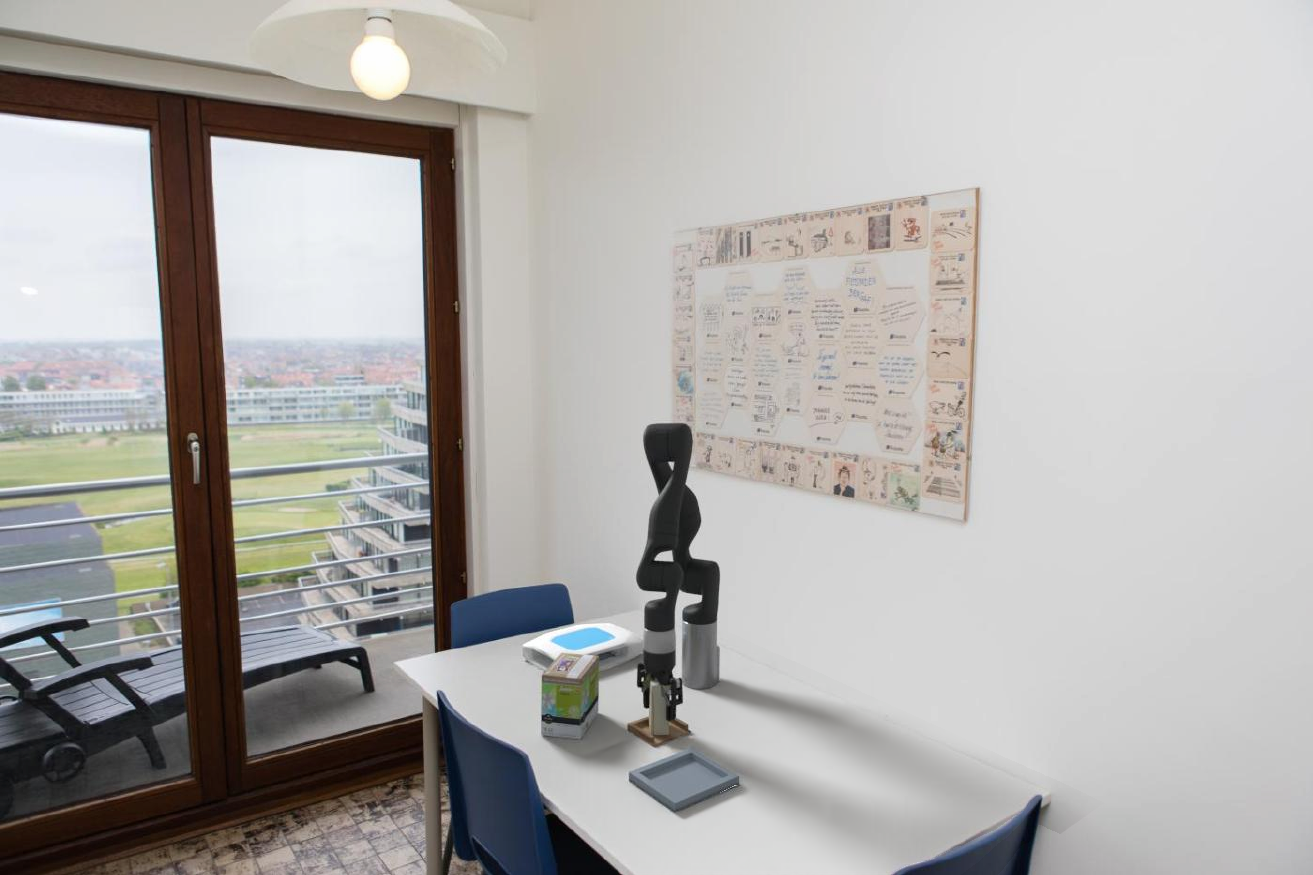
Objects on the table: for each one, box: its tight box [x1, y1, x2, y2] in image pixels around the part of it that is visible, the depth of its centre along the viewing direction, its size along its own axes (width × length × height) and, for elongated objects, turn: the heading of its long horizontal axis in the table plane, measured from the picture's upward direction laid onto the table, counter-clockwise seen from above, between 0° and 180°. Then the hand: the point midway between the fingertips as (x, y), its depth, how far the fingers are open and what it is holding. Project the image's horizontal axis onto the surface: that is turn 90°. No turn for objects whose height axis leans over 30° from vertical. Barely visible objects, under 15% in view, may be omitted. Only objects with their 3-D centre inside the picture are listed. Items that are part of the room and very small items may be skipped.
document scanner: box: [522, 622, 643, 672], centre depth 241 cm, size 21×28×6 cm
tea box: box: [540, 653, 600, 740], centre depth 200 cm, size 15×10×15 cm
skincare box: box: [648, 679, 671, 735], centre depth 196 cm, size 6×4×12 cm
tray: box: [628, 747, 740, 814], centre depth 174 cm, size 17×15×2 cm
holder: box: [626, 716, 692, 748], centre depth 196 cm, size 11×10×2 cm
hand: (659, 713), depth 196 cm, fingers open, 8 cm apart
